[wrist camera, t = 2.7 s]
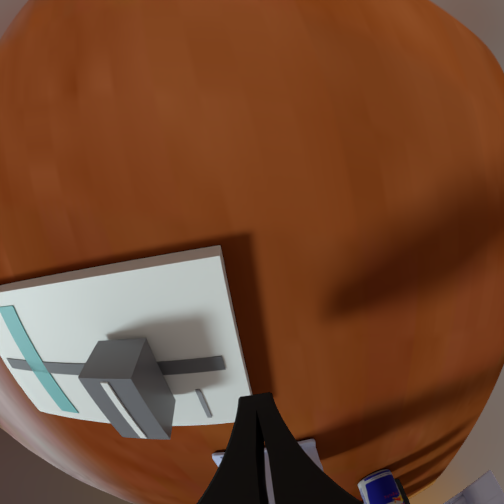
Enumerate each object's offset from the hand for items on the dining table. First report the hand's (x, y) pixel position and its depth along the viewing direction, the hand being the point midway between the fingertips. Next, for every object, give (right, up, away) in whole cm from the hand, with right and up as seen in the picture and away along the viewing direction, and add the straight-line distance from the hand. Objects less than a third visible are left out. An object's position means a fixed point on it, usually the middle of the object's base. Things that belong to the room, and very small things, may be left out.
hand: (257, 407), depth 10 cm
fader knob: (-7, 0, +3) cm, 7 cm away
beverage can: (+19, -28, +17) cm, 38 cm away
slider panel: (-11, 0, +4) cm, 12 cm away
